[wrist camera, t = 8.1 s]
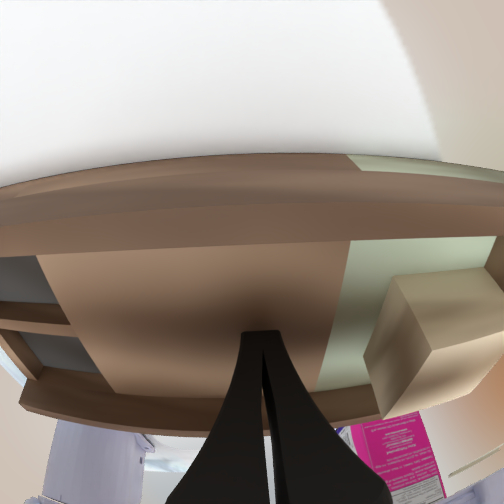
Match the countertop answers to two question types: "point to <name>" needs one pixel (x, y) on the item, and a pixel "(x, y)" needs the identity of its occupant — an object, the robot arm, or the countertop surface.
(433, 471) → the supplement box
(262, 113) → the countertop surface
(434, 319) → the birch block
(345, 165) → the compartment tray
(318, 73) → the countertop surface
